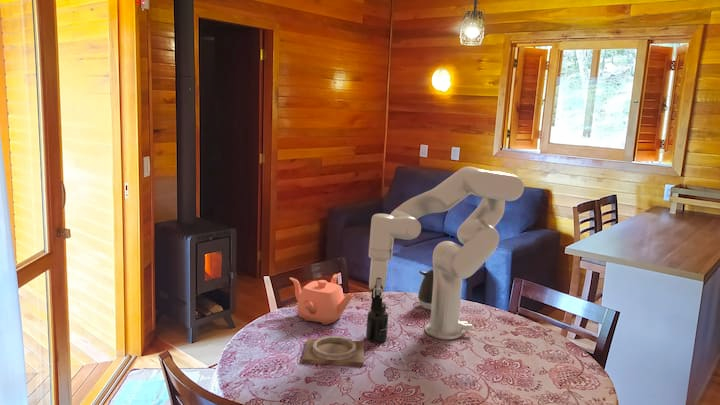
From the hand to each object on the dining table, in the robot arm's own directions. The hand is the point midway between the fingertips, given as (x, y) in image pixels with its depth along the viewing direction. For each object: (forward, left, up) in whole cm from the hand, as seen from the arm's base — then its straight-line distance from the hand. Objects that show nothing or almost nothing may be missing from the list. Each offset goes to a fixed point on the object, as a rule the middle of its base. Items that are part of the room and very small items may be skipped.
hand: (376, 303), depth 173 cm
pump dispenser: (-22, -30, -12) cm, 39 cm away
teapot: (+19, -15, -12) cm, 28 cm away
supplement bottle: (-1, 0, -12) cm, 12 cm away
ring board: (+12, +12, -12) cm, 21 cm away
